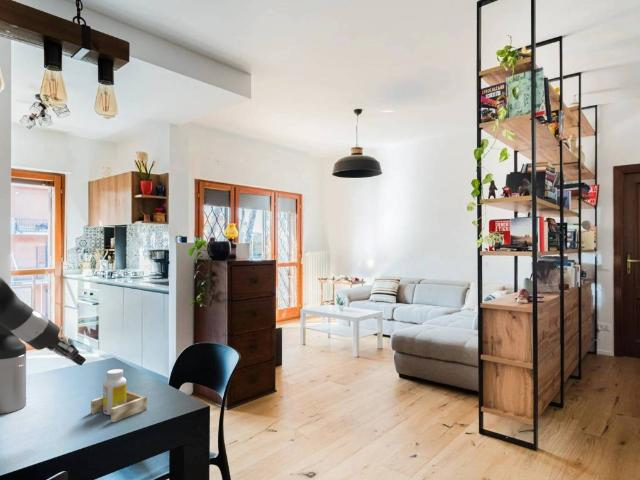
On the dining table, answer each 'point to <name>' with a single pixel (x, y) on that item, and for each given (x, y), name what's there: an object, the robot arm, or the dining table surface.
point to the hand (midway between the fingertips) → (82, 362)
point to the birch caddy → (122, 406)
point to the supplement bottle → (114, 390)
